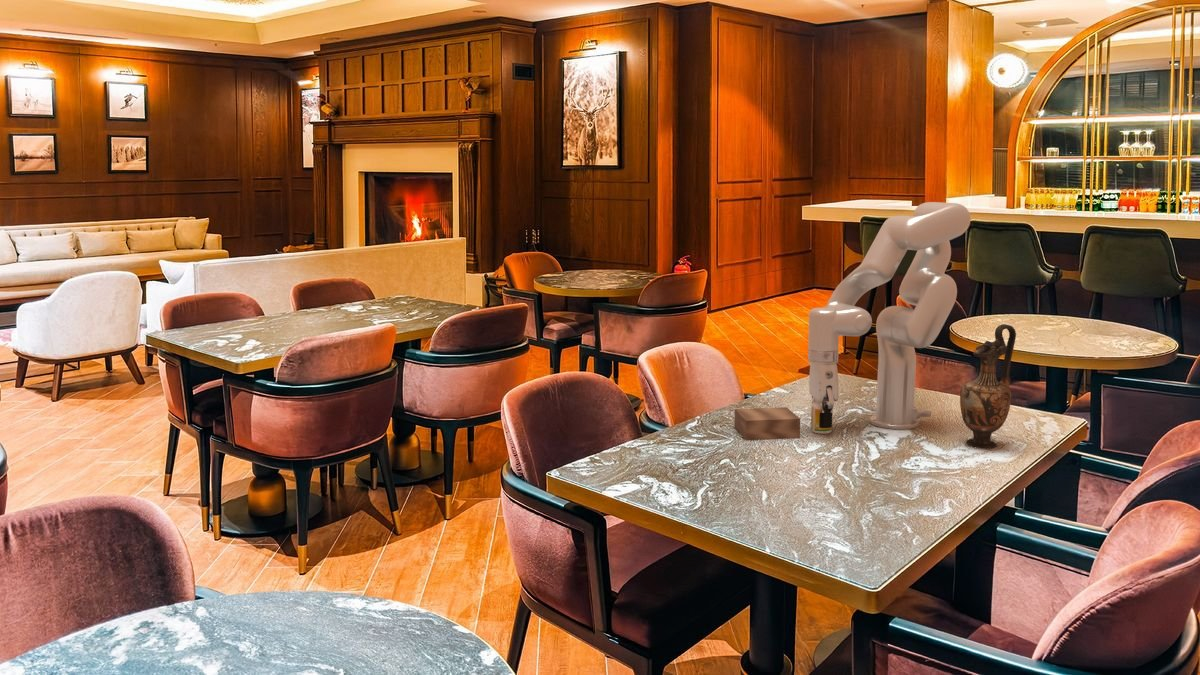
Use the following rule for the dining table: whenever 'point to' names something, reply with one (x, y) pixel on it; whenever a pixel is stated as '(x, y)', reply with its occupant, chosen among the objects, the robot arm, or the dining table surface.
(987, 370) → the vase
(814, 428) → the supplement bottle
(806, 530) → the dining table surface
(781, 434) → the walnut plinth
